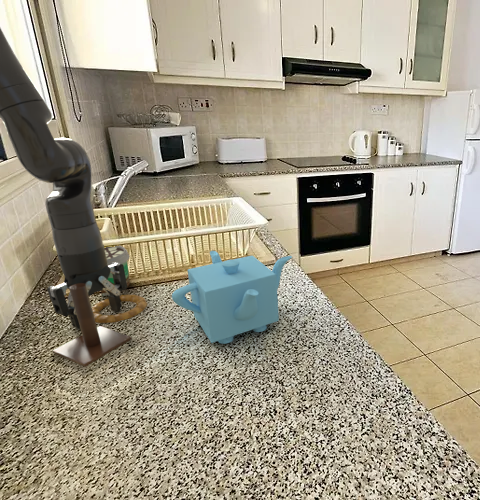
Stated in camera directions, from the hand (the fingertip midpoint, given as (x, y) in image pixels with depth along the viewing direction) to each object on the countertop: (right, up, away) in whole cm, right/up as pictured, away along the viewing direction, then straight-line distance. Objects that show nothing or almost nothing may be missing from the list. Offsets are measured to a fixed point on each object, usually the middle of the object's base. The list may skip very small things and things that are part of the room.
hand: (99, 319), depth 78 cm
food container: (-4, +5, +15) cm, 16 cm away
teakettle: (+30, -1, +1) cm, 30 cm away
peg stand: (+5, -4, -8) cm, 10 cm away
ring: (+2, +2, +4) cm, 4 cm away
